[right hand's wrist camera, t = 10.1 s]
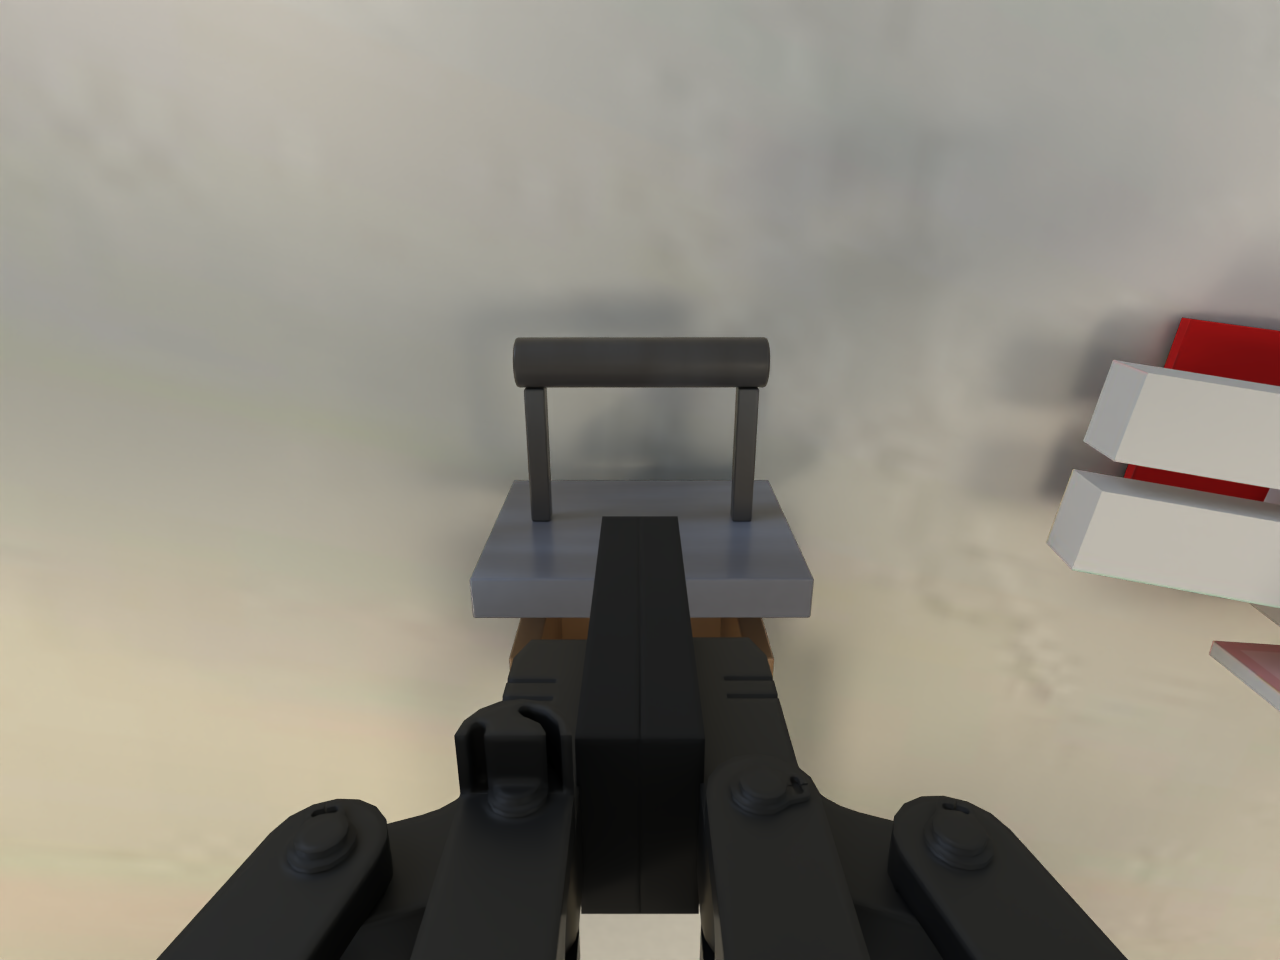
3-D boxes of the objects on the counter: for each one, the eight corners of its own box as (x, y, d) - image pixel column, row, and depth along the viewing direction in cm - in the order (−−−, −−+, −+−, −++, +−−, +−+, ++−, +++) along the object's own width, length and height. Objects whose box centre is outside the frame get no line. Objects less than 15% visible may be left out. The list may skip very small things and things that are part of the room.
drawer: (503, 319, 24) (449, 367, 17) (779, 319, 24) (834, 367, 17) (536, 820, 32) (507, 991, 25) (746, 820, 32) (775, 991, 25)
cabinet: (515, 665, 30) (465, 853, 21) (766, 665, 30) (818, 853, 21) (536, 957, 36) (504, 1196, 27) (745, 957, 36) (779, 1196, 27)
